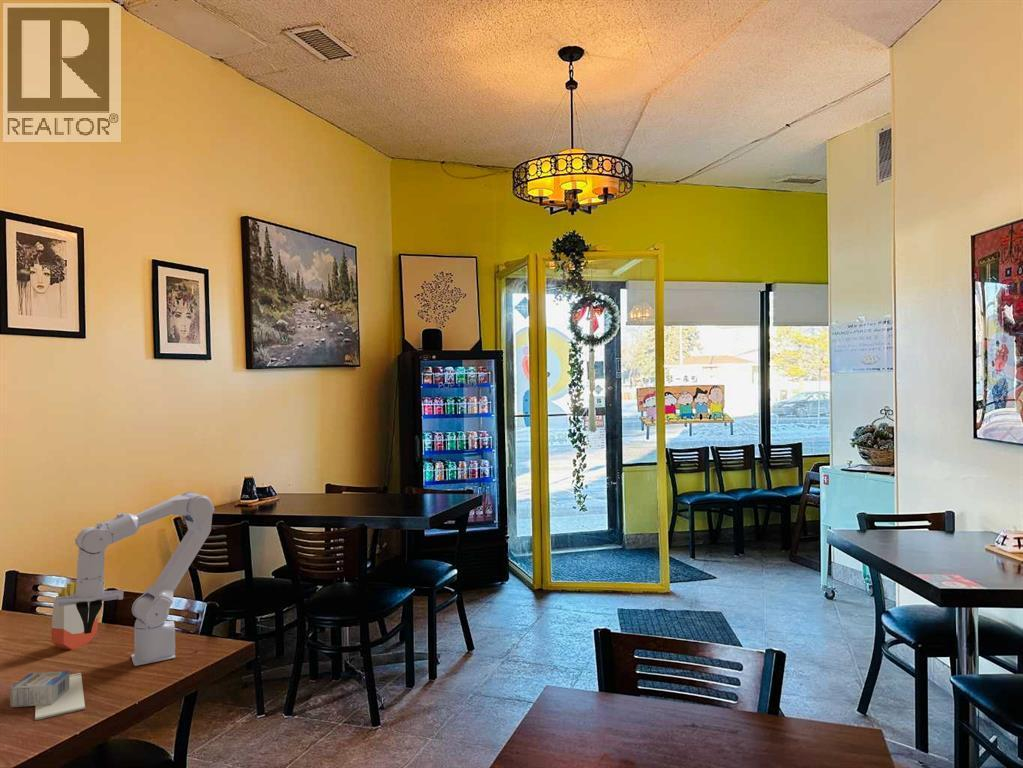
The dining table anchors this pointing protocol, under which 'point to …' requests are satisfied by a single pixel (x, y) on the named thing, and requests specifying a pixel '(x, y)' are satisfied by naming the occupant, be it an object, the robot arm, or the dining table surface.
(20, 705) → the medicine box
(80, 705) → the cream flat slab
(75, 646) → the french fries container
